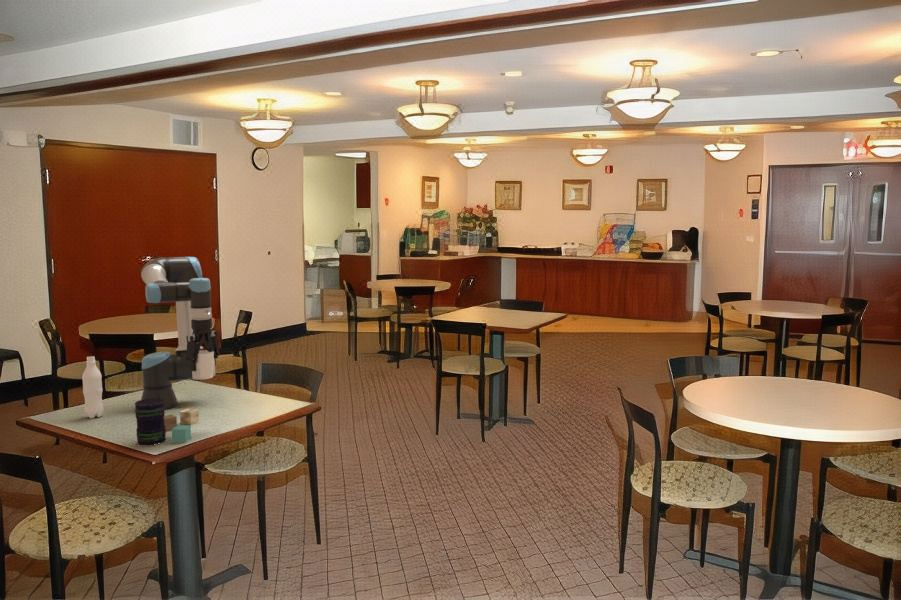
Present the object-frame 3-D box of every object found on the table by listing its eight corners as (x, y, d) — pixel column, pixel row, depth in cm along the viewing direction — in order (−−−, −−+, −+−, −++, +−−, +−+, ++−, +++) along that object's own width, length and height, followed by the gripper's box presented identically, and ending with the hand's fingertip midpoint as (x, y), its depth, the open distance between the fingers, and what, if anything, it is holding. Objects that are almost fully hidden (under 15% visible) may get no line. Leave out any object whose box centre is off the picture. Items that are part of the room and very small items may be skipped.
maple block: (180, 424, 279) (179, 411, 279) (188, 420, 284) (187, 408, 283) (191, 425, 278) (190, 412, 277) (198, 421, 283) (198, 409, 282)
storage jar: (172, 439, 260) (170, 399, 258) (151, 447, 251) (149, 406, 249) (152, 436, 263) (149, 397, 262) (130, 443, 254) (128, 403, 253)
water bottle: (92, 413, 294) (89, 355, 291) (108, 414, 292) (104, 355, 290) (80, 418, 287) (76, 358, 284) (96, 419, 285) (92, 359, 283)
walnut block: (158, 429, 272) (157, 416, 272) (170, 426, 276) (170, 414, 275) (164, 431, 269) (164, 419, 268) (177, 428, 273) (176, 416, 272)
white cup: (207, 380, 267) (206, 354, 266) (189, 379, 269) (188, 353, 268) (218, 375, 275) (217, 350, 274) (200, 374, 277) (199, 349, 276)
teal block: (172, 442, 256) (171, 429, 255) (177, 438, 261) (177, 425, 260) (185, 442, 256) (185, 429, 255) (191, 438, 261) (190, 425, 260)
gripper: (187, 322, 259) (190, 383, 261) (228, 315, 277) (230, 372, 280) (173, 321, 262) (176, 381, 265) (214, 314, 280) (216, 370, 283)
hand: (204, 376), depth 272 cm, fingers closed on white cup, 8 cm apart
